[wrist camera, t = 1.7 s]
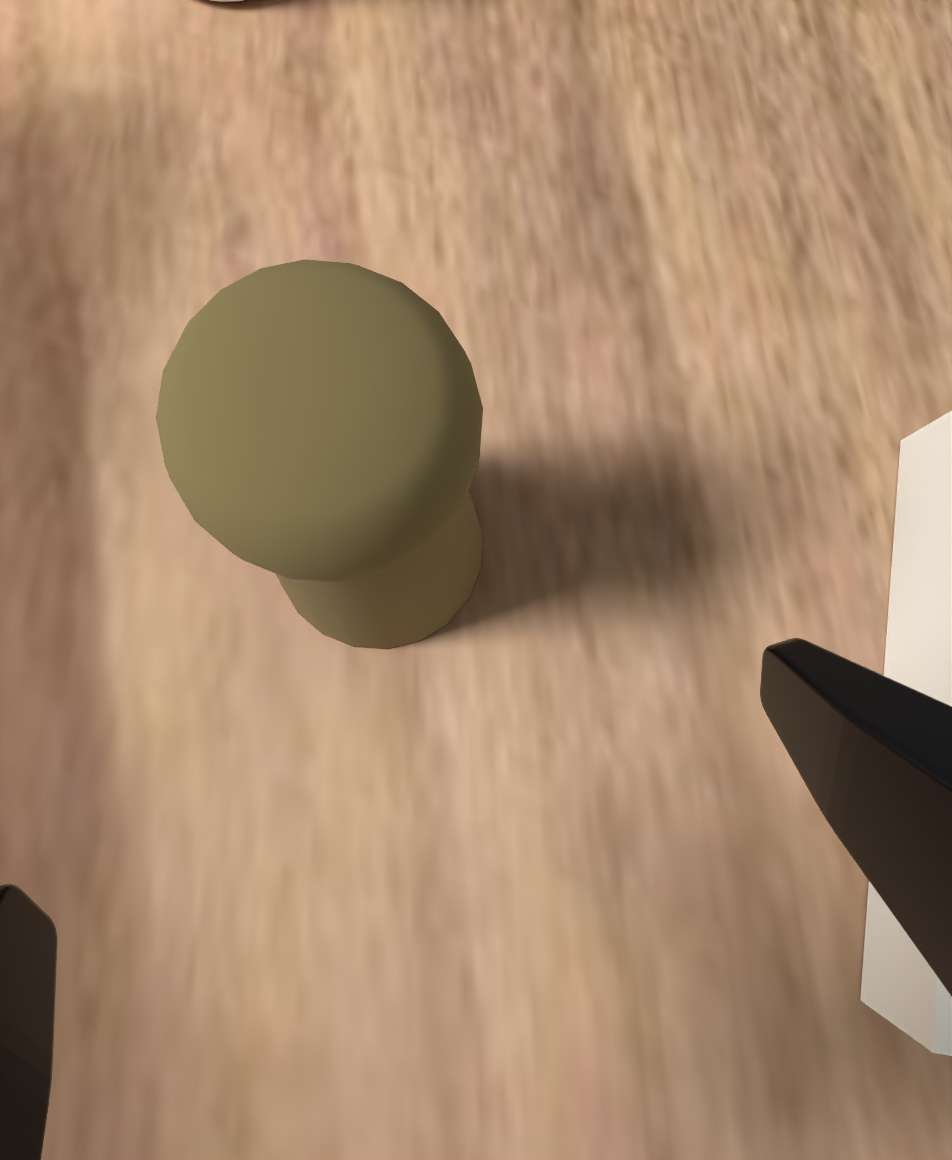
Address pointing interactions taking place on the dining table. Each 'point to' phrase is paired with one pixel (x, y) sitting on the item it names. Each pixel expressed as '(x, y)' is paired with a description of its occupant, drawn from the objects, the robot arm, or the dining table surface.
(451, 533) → the cork
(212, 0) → the supplement bottle
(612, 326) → the dining table surface
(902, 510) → the base block
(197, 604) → the dining table surface
